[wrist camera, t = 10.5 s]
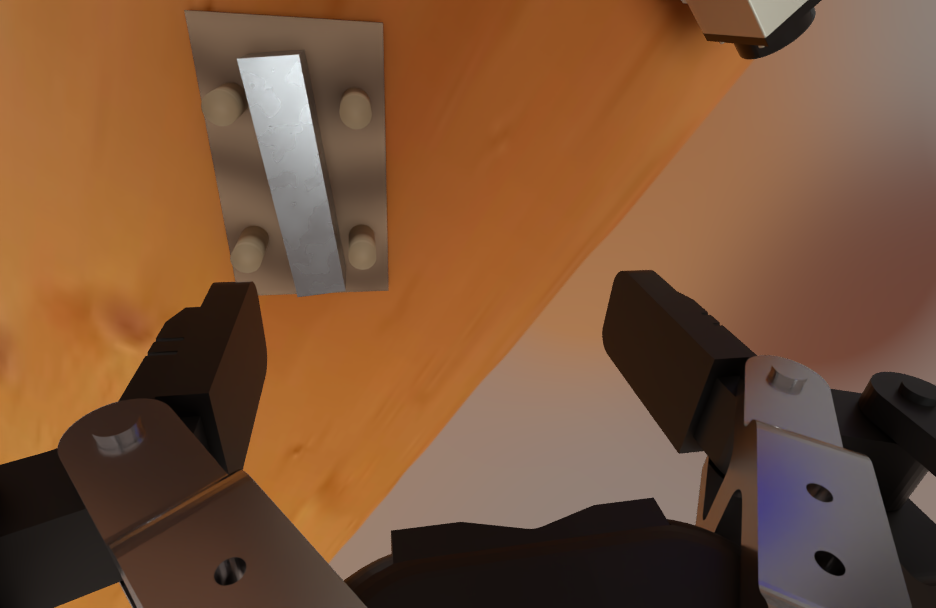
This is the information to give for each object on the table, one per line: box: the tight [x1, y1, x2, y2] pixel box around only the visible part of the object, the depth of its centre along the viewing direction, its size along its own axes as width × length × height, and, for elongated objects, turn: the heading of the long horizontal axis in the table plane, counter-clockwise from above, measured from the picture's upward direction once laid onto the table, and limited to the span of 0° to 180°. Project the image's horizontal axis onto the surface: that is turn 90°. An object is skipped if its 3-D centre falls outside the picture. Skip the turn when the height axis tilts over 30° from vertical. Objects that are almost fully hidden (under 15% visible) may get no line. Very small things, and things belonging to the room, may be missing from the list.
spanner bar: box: [237, 50, 346, 297], centre depth 35 cm, size 16×4×4 cm, turn 3°
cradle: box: [184, 10, 388, 295], centre depth 36 cm, size 20×12×5 cm, turn 176°
